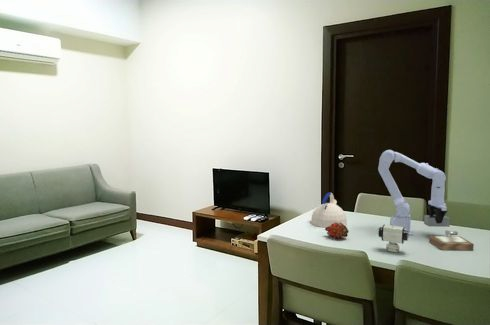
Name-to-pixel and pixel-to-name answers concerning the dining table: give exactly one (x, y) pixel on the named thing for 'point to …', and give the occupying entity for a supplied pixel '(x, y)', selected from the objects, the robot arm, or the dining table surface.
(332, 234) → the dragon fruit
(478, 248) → the dining table surface
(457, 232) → the loose bolt
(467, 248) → the stand
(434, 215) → the block
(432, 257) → the dining table surface
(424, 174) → the robot arm
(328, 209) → the kettle
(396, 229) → the pneumatic valve
